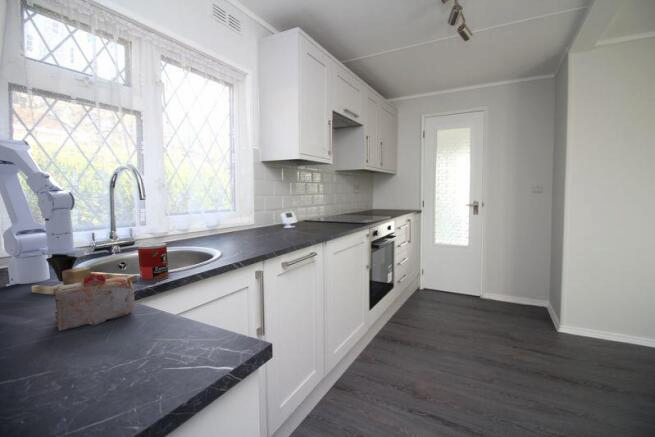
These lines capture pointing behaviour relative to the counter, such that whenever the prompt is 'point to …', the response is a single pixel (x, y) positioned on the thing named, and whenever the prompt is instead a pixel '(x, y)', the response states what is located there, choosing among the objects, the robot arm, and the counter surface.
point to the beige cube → (75, 275)
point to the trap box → (107, 275)
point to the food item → (93, 301)
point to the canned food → (153, 260)
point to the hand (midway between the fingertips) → (64, 280)
